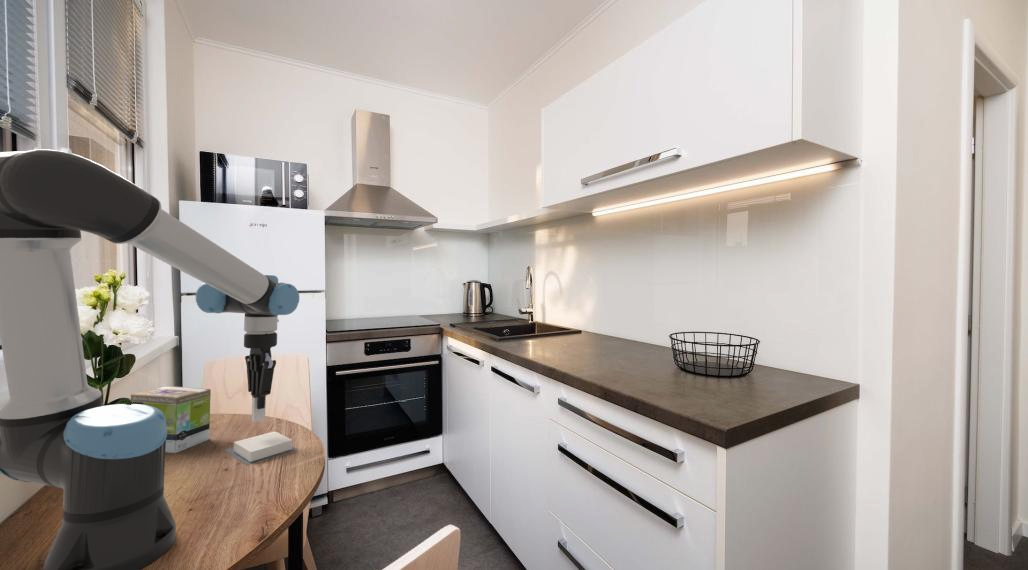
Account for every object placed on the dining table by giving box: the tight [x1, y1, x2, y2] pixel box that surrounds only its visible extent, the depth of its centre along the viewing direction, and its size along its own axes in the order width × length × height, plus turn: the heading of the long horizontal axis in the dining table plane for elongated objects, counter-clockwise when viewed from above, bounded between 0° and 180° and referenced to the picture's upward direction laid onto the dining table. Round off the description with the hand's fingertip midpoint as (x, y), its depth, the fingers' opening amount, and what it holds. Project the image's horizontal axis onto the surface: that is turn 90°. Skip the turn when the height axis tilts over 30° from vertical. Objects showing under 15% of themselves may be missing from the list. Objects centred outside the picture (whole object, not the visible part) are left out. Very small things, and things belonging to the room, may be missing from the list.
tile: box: [233, 431, 294, 462], centre depth 104 cm, size 10×3×10 cm
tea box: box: [130, 385, 212, 454], centre depth 108 cm, size 15×10×15 cm
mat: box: [223, 446, 298, 466], centre depth 105 cm, size 12×14×1 cm
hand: (258, 420), depth 106 cm, fingers closed
